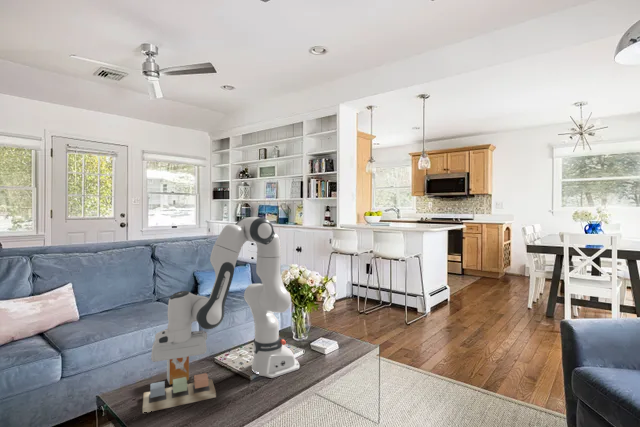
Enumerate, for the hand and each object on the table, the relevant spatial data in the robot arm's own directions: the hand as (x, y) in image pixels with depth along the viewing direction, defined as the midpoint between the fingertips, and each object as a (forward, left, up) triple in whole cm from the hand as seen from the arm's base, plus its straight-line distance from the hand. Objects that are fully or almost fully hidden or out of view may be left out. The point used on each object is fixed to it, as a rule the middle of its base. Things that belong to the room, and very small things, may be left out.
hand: (179, 367), depth 137 cm
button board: (0, 0, -12) cm, 12 cm away
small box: (0, -15, -12) cm, 19 cm away
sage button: (0, 0, -8) cm, 8 cm away
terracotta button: (-8, 0, -8) cm, 12 cm away
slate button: (+8, 0, -8) cm, 11 cm away
